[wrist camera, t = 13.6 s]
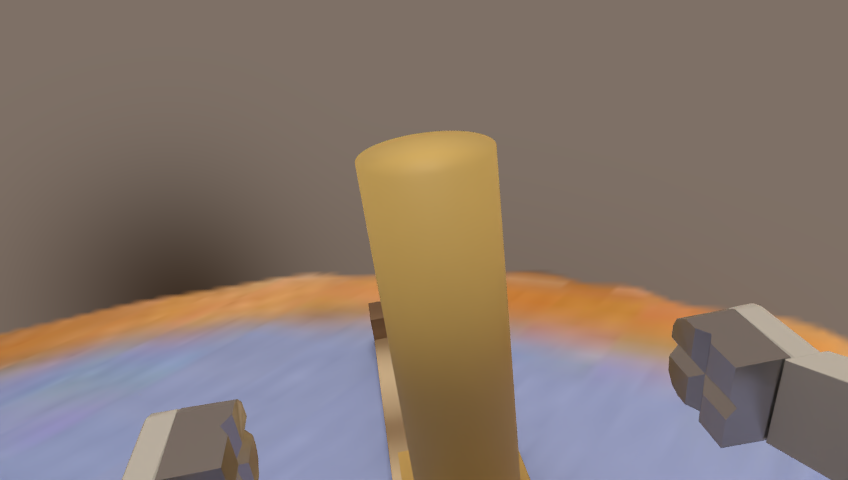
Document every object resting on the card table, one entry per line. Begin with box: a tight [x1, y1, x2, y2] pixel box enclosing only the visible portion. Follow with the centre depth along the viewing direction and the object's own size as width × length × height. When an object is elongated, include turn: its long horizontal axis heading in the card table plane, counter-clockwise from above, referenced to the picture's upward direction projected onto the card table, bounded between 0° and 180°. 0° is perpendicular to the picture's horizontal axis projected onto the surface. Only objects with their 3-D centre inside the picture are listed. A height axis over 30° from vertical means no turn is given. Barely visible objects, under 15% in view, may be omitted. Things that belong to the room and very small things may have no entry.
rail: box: [369, 301, 408, 480], centre depth 28 cm, size 22×6×3 cm, turn 9°
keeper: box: [355, 131, 530, 480], centre depth 20 cm, size 6×5×16 cm
